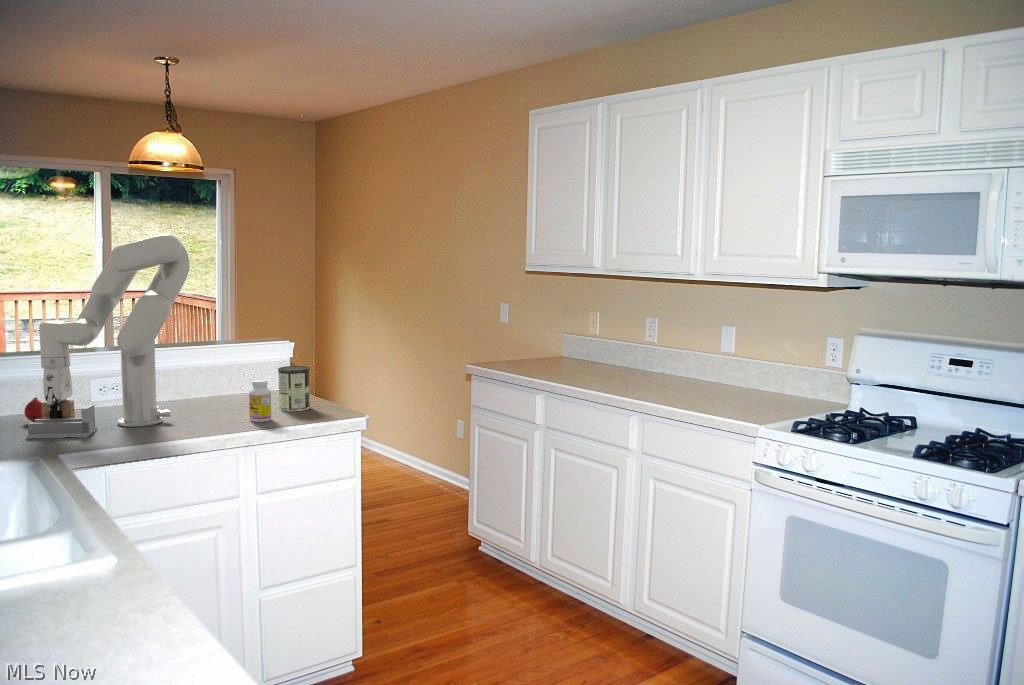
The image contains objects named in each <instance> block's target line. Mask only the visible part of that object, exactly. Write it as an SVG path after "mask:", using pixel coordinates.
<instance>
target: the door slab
mask: <svg viewBox="0 0 1024 685" xmlns="http://www.w3.org/2000/svg"><path fill="white" fill-rule="evenodd" d="M41 402H42V403H41V407H42V419H50V411H49V406H48V405H47V401H46V400H44V401H41ZM56 404H57V403H56ZM60 410H62V419H67V418H75V416H76V415H75V400H72V399H70V400H69V399H67V400H63V401H60Z"/></svg>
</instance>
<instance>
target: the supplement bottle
mask: <svg viewBox="0 0 1024 685" xmlns="http://www.w3.org/2000/svg"><path fill="white" fill-rule="evenodd" d="M251 383H252V384H251V385H252V388H251V389H250V390H249V394H248V396H249V397H248V400H249V405H248V406H249V420H250V421H251V422H254V423H264V422H269V421H271V419H272V390H271V389H270V388H269V387H268V384H269V383H268V380H267V379H255V380H252V381H251Z"/></svg>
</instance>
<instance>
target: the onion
mask: <svg viewBox="0 0 1024 685" xmlns="http://www.w3.org/2000/svg"><path fill="white" fill-rule="evenodd" d="M42 402H43V401H40V400H38V397H37V396H35V397H33V398H32V399H31V400H30V401H29V402H28V403H27V404H26V405H25V407H24V411H23V412H24V416H25V418H26V419H27V420H29V421H31V422H32V423H35V419H42V407H41V403H42Z"/></svg>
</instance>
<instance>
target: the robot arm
mask: <svg viewBox="0 0 1024 685" xmlns="http://www.w3.org/2000/svg"><path fill="white" fill-rule="evenodd" d="M157 266H158V269H157V271H156V273H155V274H154V276H153V278H152V280H151V282H150V284H149V286H148V287H147V289H146V291H145V292H144V293H143V294H142V295H141V296H140V297H139V298H138V299H137V300H136V303H135V304H134V306H133V308H132V310H131V312H130V313H129V315H128V317H127V318H126V321H124V324H123V325H122V327H121V328H120V331H119V332H118V335H117V338H116V340H117V341H116V342H117V343H116V344H117V347H118V349H119V350H120V366H121V368H120V369H121V389H122V390H121V392H122V394H121V395H122V414H123V415H122V416H123V417H121V418H119V419H118V420H117V425H119V426H121V427H131V428H133V427H135V428H137V427H140V428H141V427H146V426H154V425H157V424H161V423H162V422H163V418H171V417H172V410H169V409H163V410H162V409H160V405H157V404H158V403H157V385H156V384H157V382H156V381H157V380H156V377H157V376H156V339H157V337H158V336H159V333H160V331H161V330H162V328H163V327H164V325H165V323H166V321H167V319H168V318H169V316H170V313H171V310H172V307H173V305H174V304H175V301H176V300H177V298H178V295H180V292H181V290H182V288H183V286H184V284H185V283H186V280H187V279H188V276H189V272H190V259H189V253H188V251H187V249H186V247H185V246H184V244H183V243H182V241H180V239H179V238H178V237H176V236H175V235H174V234H170V233H162V234H157V235H154V236H150V237H146V238H143V239H142V238H141V239H139V240H136V241H135V240H134V241H132V242H131V241H130V242H128V243H122V244H119V245H116V246H115V247H114V248H112V249H111V251H110V254H109V258H108V260H107V262H106V263H105V265H104V267H103V268H102V270H101V271H100V273H99V275H98V277H97V278H96V280H95V281H94V283H93V284H92V287H91V292H90V295H89V298H88V300H87V302H86V303H85V305H84V307H83V309H82V310H81V312H80V313H79V315H78V316H77V319H76V320H75V321H70V322H66V321H65V320H46V321H42V322H40V323H39V326H38V328H39V329H38V330H39V331H38V332H39V348H40V367H41V369H43V375H42V376H43V379H42V380H43V383H42V384H43V388H42V389H43V397H44V401H47V405H48V406H49V411H50V419H62V410H60V401H63V400H68V399H69V398H71V397H72V396H73V386H72V375H71V370H70V367H71V357H70V354H71V353H70V346H77V347H85V346H88V345H90V344H91V343H92V342H93V341H94V340H96V339H97V338H98V336H99V335H100V333H101V332H102V331H103V328H104V327H105V325H106V324H107V321H108V320H109V318H110V317H111V314H112V313H113V311H114V309H116V307H117V306H118V305H119V303H120V301H121V300H122V298H123V296H124V295H125V293H126V291H127V289H128V288H129V286H130V284H131V283H132V281H133V280H134V278H135V276H136V274H137V273H138V271H142V270H146V269H150V268H153V267H157ZM56 403H57V404H56Z"/></svg>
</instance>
